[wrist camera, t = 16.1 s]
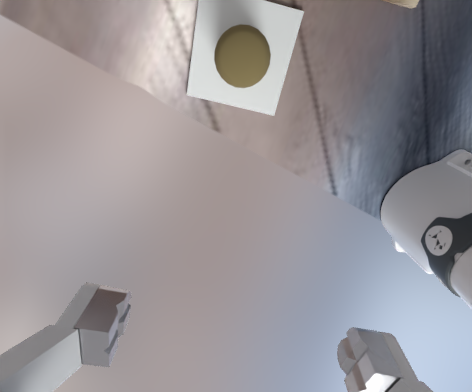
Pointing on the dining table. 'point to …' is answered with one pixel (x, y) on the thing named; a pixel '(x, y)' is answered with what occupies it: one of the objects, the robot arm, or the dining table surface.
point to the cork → (242, 56)
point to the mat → (221, 19)
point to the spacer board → (404, 3)
